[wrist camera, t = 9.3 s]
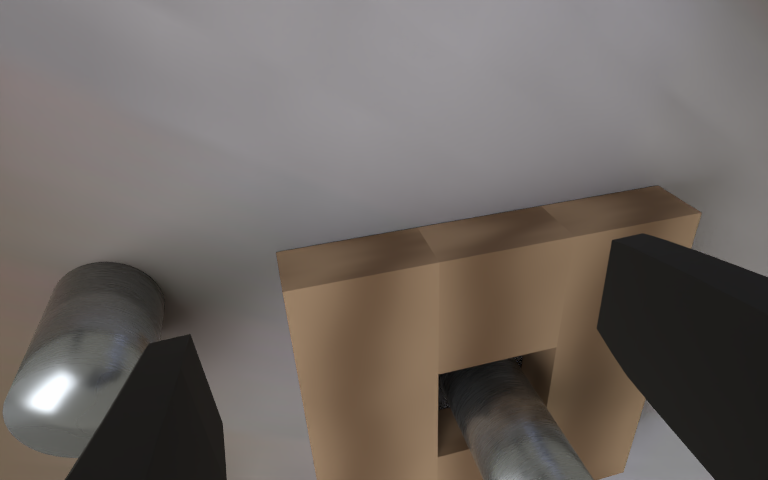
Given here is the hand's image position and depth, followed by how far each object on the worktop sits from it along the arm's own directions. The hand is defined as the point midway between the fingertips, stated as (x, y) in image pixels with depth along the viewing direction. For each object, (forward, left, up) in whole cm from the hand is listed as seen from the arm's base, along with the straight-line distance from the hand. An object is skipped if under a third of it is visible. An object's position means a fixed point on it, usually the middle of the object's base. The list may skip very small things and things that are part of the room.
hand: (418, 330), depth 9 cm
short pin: (+8, +5, -10) cm, 14 cm away
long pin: (-6, +12, -10) cm, 17 cm away
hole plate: (-6, +12, -10) cm, 17 cm away
